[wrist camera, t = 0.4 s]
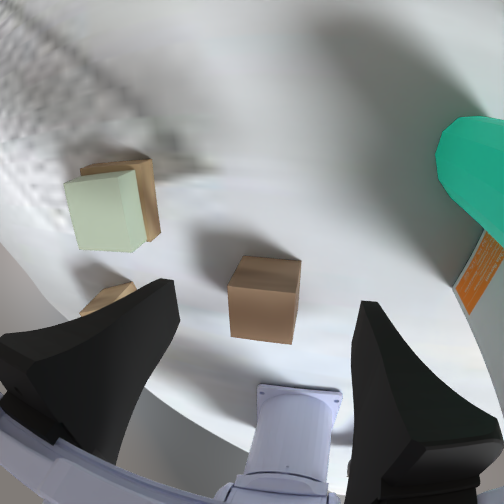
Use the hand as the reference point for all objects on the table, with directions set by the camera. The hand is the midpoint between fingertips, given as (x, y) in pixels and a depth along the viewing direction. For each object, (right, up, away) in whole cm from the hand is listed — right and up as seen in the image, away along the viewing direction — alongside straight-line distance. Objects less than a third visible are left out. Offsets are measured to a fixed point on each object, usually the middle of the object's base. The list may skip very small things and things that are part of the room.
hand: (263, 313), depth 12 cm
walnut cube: (+1, 0, +11) cm, 11 cm away
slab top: (-10, +6, +9) cm, 15 cm away
